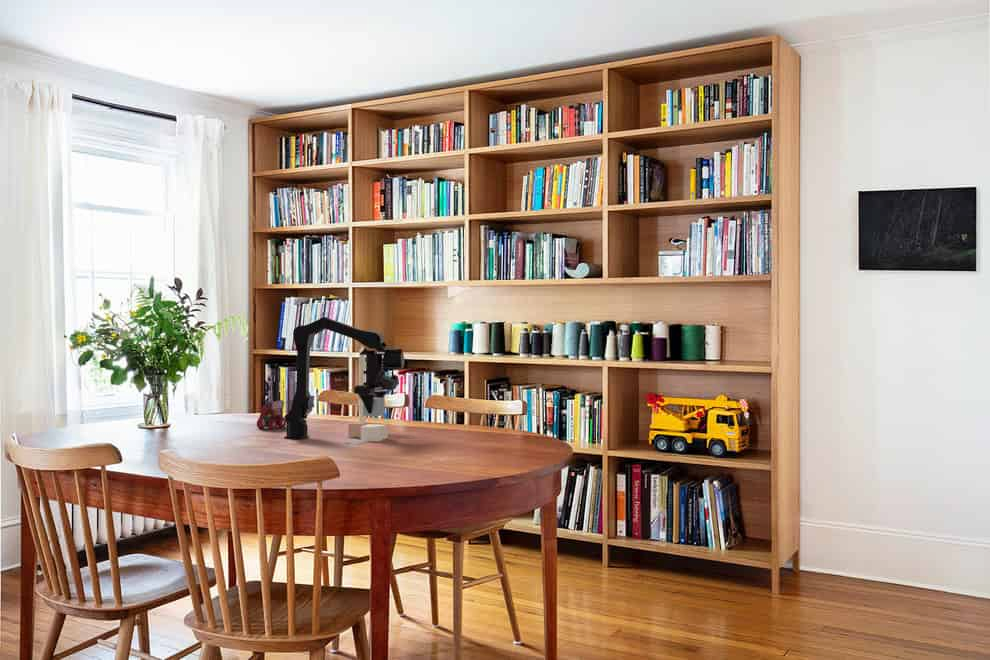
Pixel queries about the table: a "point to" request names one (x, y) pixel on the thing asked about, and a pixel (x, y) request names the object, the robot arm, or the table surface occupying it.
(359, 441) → the tile
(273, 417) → the toy fire truck
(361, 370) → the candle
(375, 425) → the cream block
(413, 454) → the table surface
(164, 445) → the table surface
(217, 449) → the table surface
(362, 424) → the terracotta block
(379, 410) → the grey block
